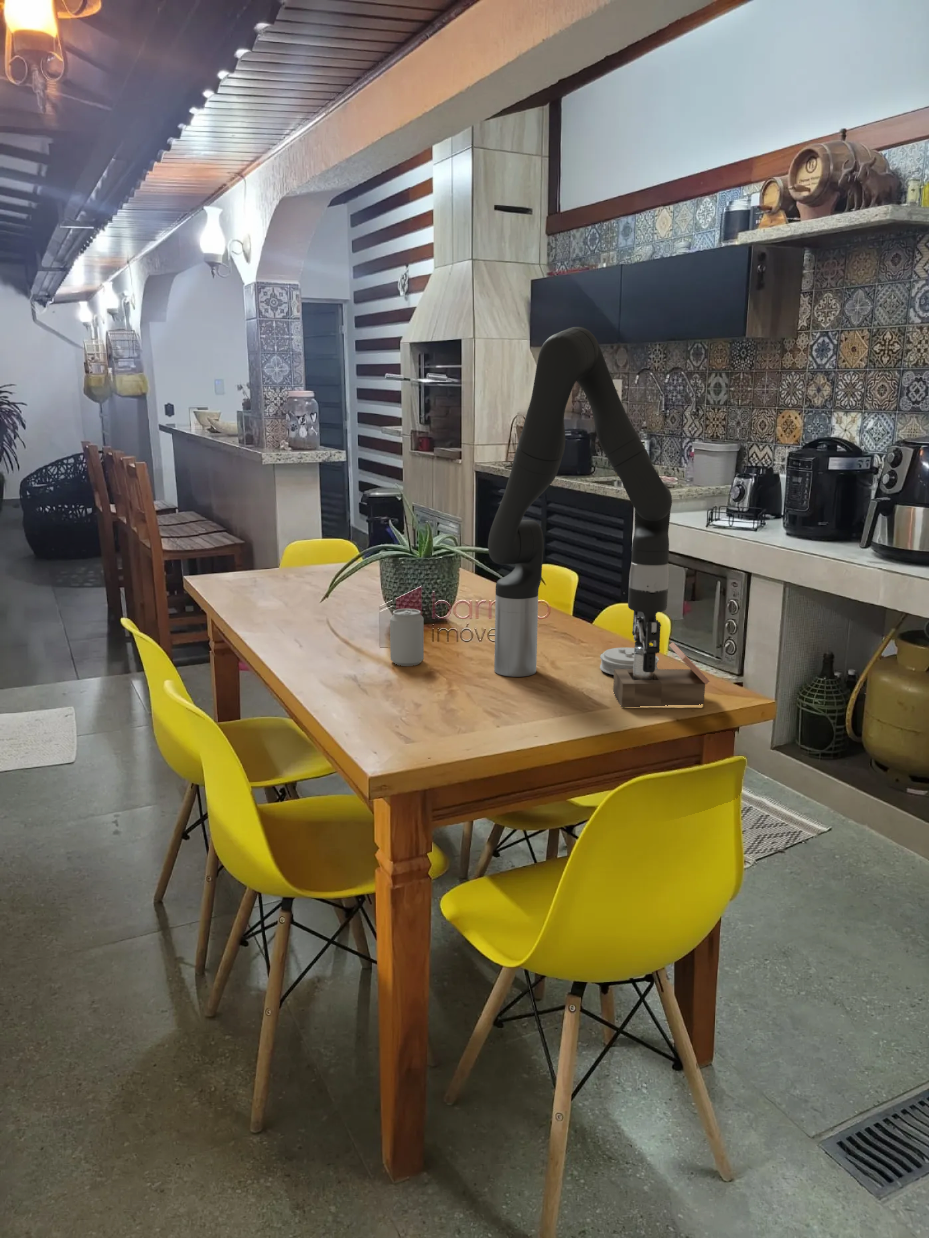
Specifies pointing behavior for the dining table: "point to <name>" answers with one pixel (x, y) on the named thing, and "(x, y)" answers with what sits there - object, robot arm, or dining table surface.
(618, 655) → the lid
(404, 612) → the can
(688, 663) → the pink flat board
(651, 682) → the socket block
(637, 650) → the pin
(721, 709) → the dining table surface
